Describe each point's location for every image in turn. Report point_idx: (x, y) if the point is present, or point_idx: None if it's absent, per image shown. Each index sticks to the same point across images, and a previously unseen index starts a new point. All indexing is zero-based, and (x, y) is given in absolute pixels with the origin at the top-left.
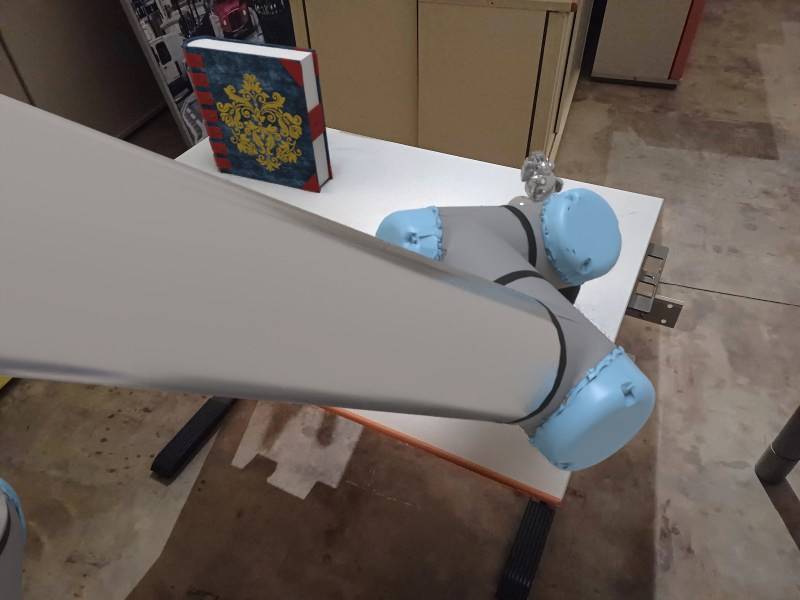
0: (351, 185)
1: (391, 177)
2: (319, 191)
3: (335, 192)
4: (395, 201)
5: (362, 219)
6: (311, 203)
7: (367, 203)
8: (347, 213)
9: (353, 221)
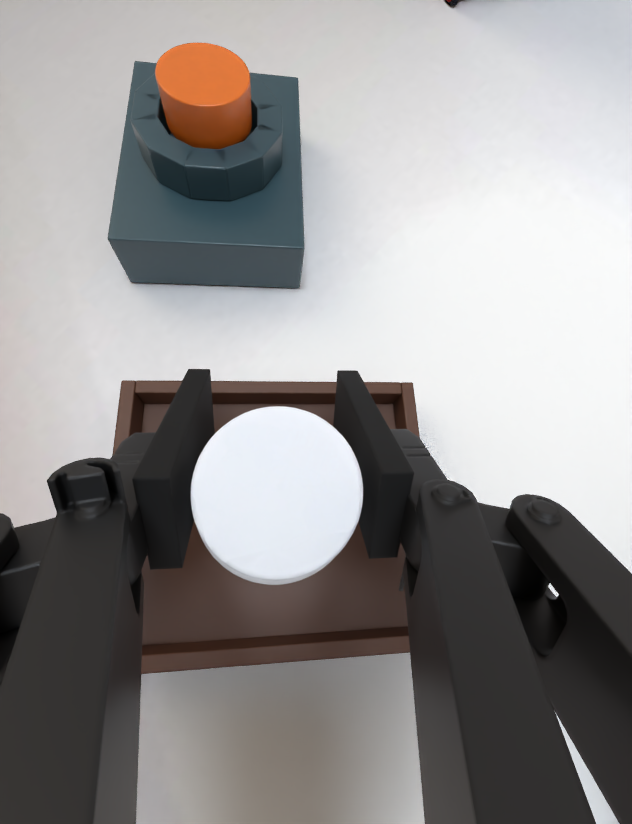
0: (526, 34)
1: (620, 72)
2: (454, 3)
3: (483, 27)
4: (584, 128)
5: (481, 119)
6: (416, 17)
7: (523, 93)
8: (464, 85)
9: (460, 111)
